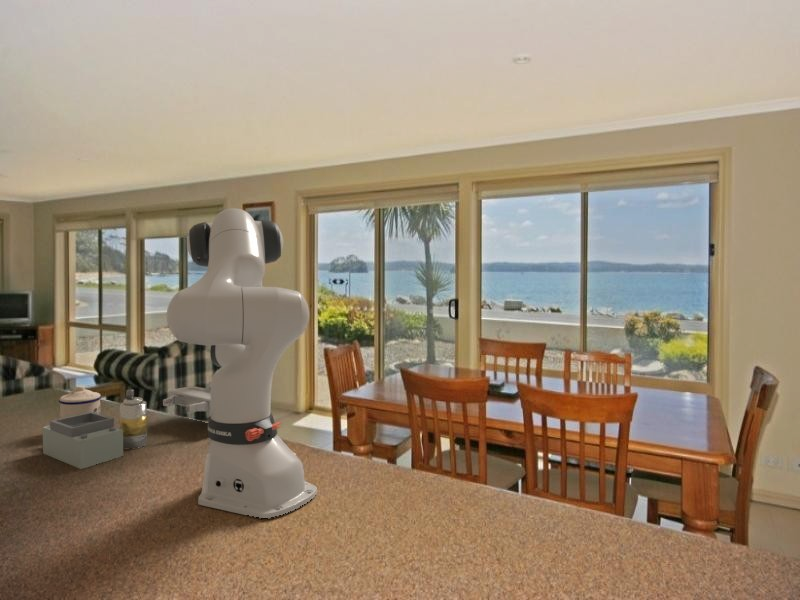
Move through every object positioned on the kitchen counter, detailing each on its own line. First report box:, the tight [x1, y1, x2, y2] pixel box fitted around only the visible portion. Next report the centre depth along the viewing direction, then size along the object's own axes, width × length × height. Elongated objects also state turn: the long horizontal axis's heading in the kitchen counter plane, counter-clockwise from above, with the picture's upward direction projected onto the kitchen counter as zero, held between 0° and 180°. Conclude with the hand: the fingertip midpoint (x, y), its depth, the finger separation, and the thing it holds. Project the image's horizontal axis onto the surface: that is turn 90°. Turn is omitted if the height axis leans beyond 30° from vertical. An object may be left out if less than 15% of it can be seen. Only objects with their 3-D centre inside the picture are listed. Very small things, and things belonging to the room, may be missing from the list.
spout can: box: [119, 388, 148, 449], centre depth 124 cm, size 6×6×13 cm
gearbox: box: [42, 412, 124, 470], centre depth 118 cm, size 20×9×8 cm, turn 58°
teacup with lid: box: [58, 385, 102, 419], centre depth 134 cm, size 12×9×12 cm
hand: (175, 405), depth 134 cm, fingers open, 8 cm apart
